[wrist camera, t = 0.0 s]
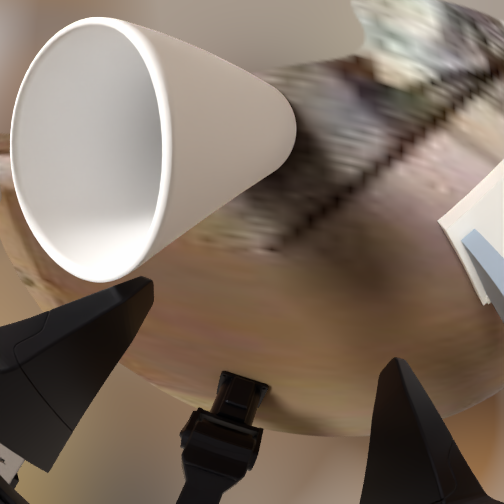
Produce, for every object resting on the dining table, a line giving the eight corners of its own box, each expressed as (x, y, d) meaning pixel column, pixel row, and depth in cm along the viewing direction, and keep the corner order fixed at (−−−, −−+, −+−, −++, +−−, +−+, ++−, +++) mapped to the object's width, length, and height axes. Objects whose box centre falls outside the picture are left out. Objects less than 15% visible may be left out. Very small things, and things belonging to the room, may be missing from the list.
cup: (302, 83, 17) (191, -23, 3) (289, 187, 21) (176, 319, 7) (199, 79, 19) (13, 59, 5) (193, 173, 23) (25, 251, 9)
